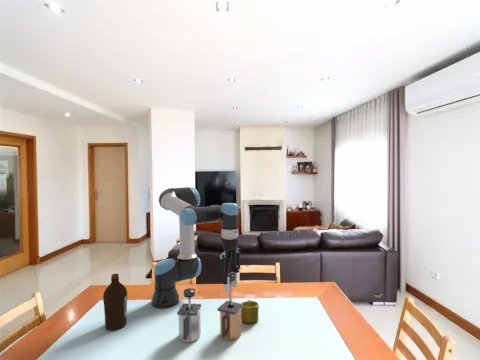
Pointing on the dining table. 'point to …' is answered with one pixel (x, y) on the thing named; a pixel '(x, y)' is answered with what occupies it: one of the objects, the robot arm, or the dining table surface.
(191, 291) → the plunger steel
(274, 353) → the dining table surface
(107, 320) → the olive oil
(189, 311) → the plate
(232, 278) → the plunger copper
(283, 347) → the dining table surface
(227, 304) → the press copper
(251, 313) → the mug
